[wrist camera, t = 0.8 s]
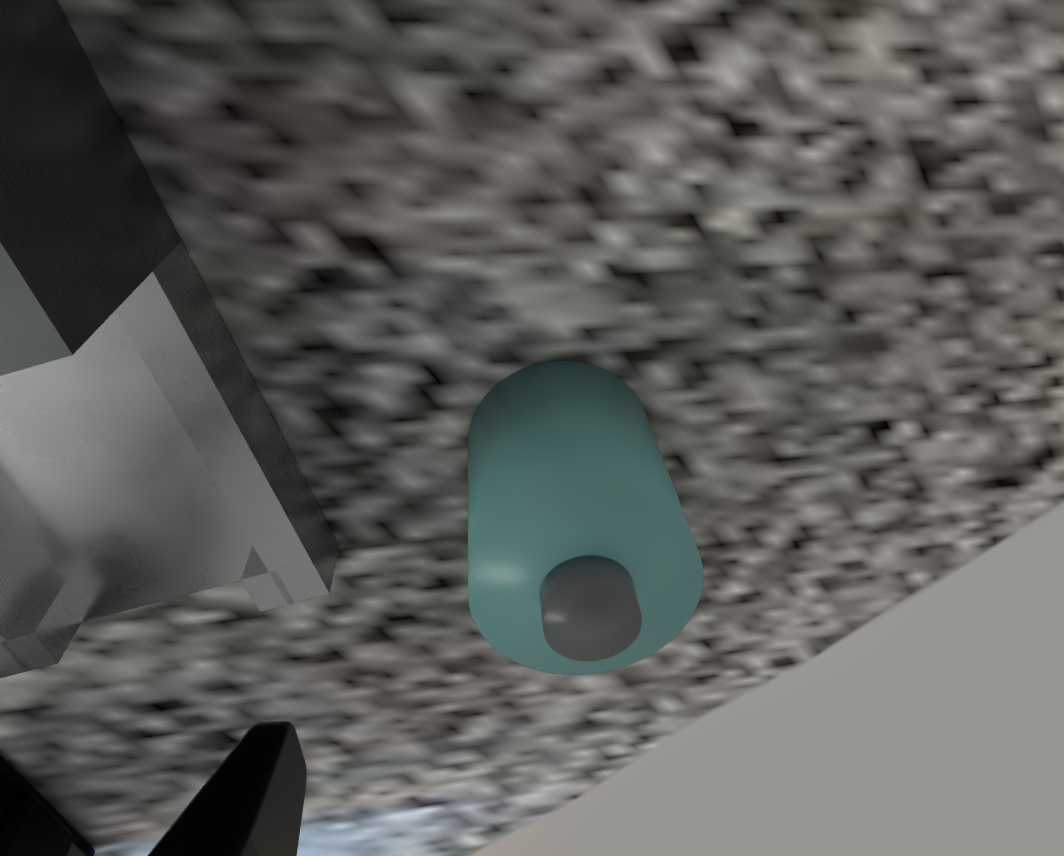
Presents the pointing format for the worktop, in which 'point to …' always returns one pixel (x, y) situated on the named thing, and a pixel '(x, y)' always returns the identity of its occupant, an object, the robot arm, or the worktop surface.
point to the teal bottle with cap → (574, 524)
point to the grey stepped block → (119, 382)
